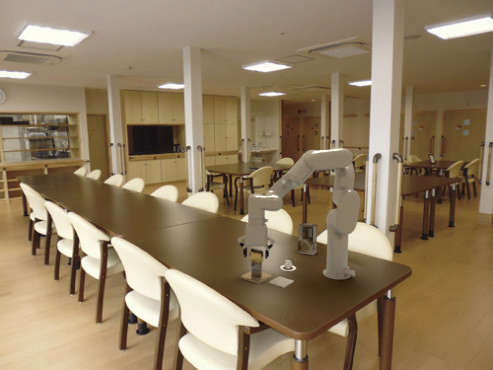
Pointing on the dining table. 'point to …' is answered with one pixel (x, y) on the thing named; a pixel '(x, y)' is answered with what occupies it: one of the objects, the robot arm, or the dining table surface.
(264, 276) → the post
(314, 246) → the coffee box
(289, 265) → the teacup and saucer
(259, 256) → the cap
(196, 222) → the dining table surface
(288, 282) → the mat
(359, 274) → the dining table surface
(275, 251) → the dining table surface
